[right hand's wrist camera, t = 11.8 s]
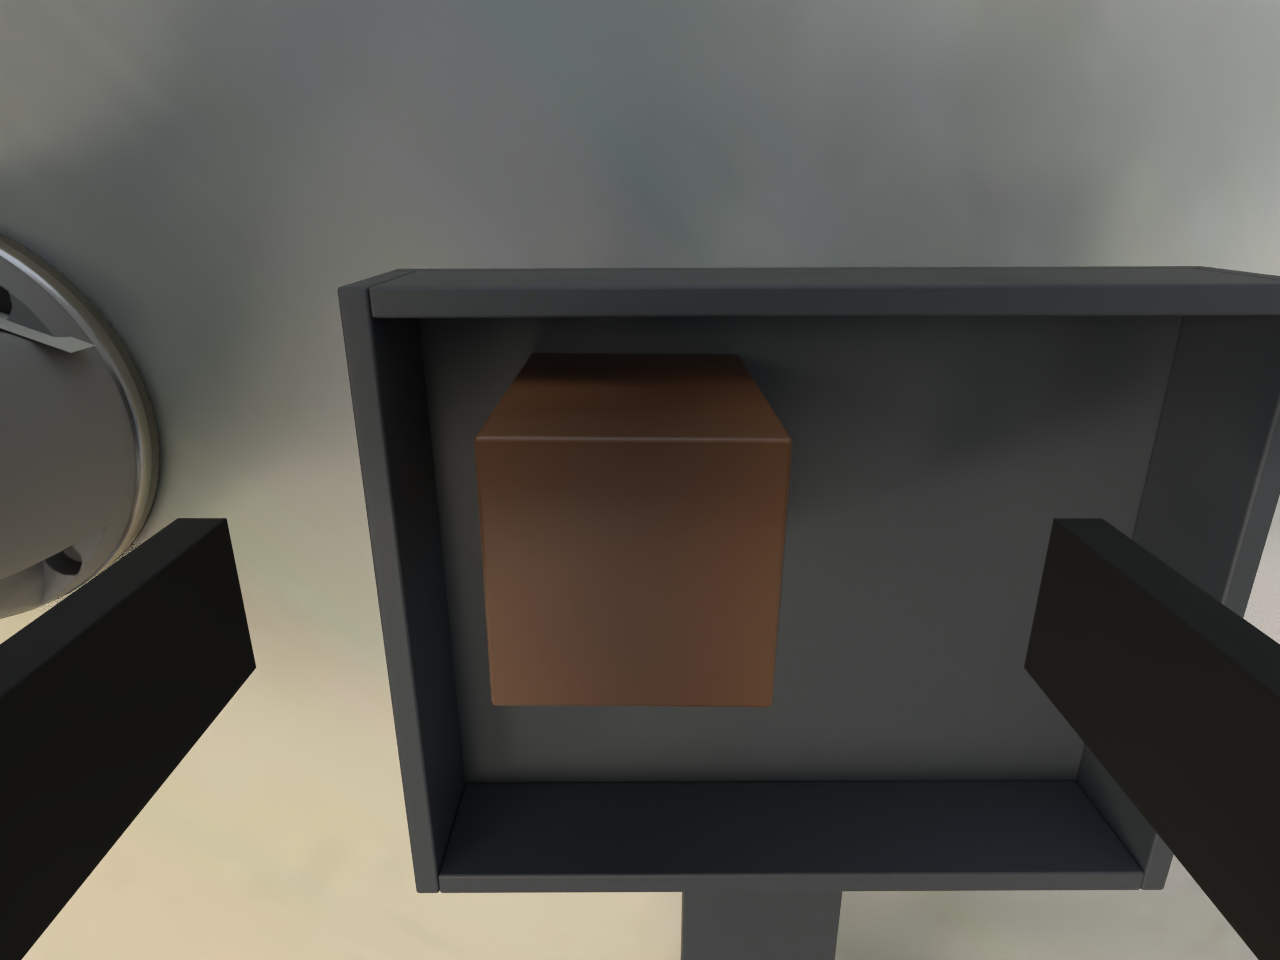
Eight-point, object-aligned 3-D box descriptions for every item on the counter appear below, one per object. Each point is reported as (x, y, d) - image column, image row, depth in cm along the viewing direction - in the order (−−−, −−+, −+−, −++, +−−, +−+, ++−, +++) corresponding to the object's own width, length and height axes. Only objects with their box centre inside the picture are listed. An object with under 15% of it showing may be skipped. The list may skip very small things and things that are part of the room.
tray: (493, 1187, 30) (460, 1412, 25) (396, 268, 19) (292, 300, 13) (987, 1184, 30) (1066, 1408, 25) (1201, 266, 19) (1446, 296, 13)
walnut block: (538, 543, 20) (490, 707, 14) (530, 352, 19) (472, 436, 12) (729, 543, 20) (772, 709, 14) (739, 353, 19) (794, 438, 12)
